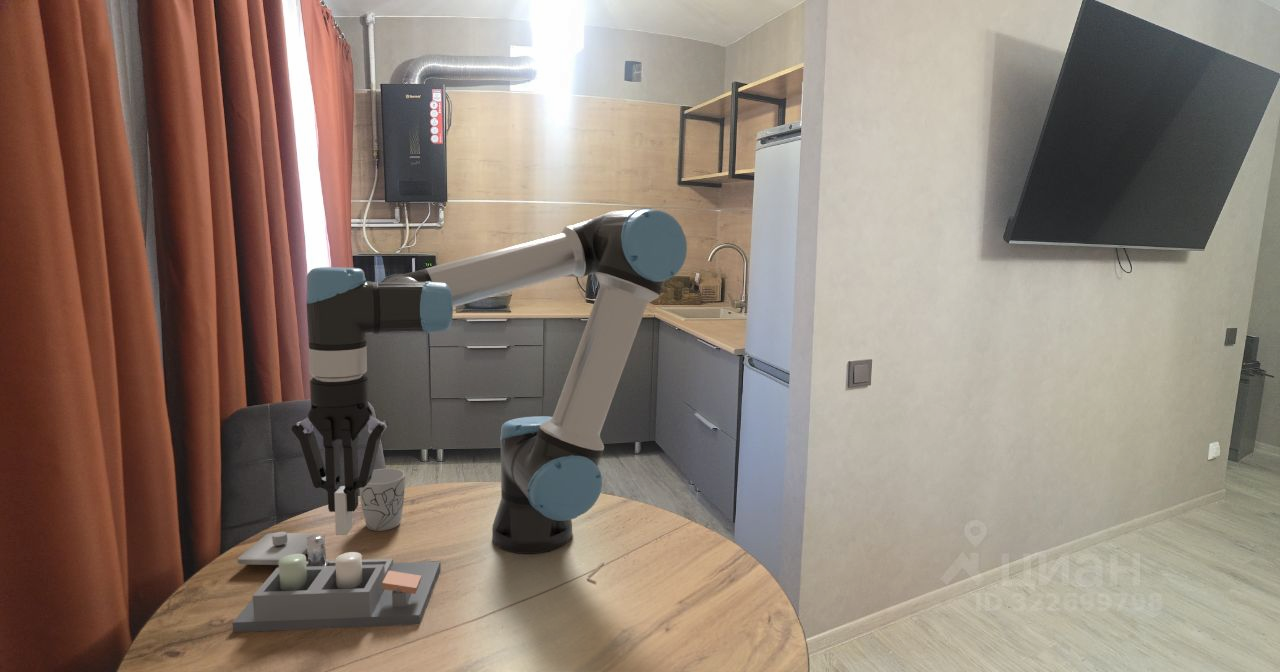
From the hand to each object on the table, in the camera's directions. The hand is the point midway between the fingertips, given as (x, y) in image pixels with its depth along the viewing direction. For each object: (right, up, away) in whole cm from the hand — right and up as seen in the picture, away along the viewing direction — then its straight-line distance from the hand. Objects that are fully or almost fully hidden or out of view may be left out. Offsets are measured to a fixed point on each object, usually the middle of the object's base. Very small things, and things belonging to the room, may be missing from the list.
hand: (344, 531), depth 97 cm
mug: (-6, -8, +33) cm, 35 cm away
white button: (0, -8, +1) cm, 8 cm away
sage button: (-8, -8, +1) cm, 11 cm away
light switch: (-19, -10, +17) cm, 27 cm away
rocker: (+8, -9, +2) cm, 12 cm away
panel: (-2, -12, +6) cm, 14 cm away
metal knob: (-9, -10, +10) cm, 17 cm away
